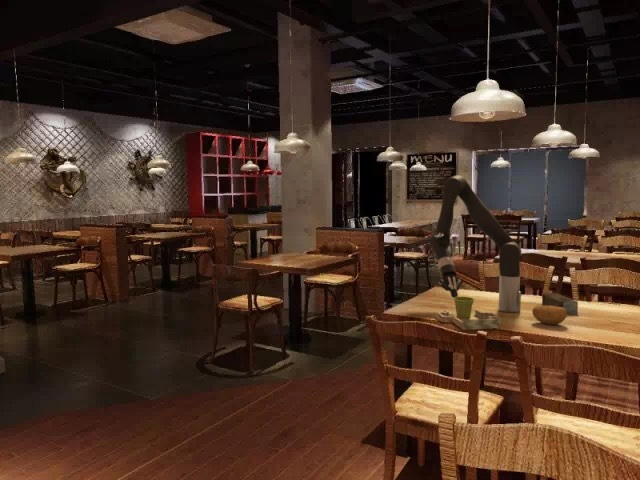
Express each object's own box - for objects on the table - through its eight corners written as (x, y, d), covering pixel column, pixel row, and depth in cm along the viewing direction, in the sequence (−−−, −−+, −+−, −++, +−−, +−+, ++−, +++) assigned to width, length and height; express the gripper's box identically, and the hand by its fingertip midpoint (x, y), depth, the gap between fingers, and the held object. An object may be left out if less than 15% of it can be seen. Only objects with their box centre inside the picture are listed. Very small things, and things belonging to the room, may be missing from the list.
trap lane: (486, 314, 242) (486, 305, 241) (510, 327, 219) (510, 318, 218) (434, 316, 239) (434, 307, 238) (453, 330, 216) (453, 321, 215)
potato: (533, 319, 232) (533, 302, 231) (567, 323, 225) (567, 305, 225) (530, 324, 224) (530, 306, 223) (565, 328, 217) (566, 310, 216)
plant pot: (454, 319, 233) (454, 300, 232) (451, 314, 242) (452, 296, 241) (475, 319, 232) (475, 301, 231) (472, 314, 241) (472, 296, 240)
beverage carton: (562, 314, 241) (562, 300, 240) (540, 305, 260) (541, 292, 259) (578, 313, 242) (578, 300, 241) (555, 304, 261) (556, 291, 260)
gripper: (436, 263, 253) (444, 293, 242) (461, 263, 254) (470, 292, 244) (432, 272, 259) (439, 301, 248) (457, 272, 260) (465, 301, 250)
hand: (455, 297), depth 246 cm, fingers closed
